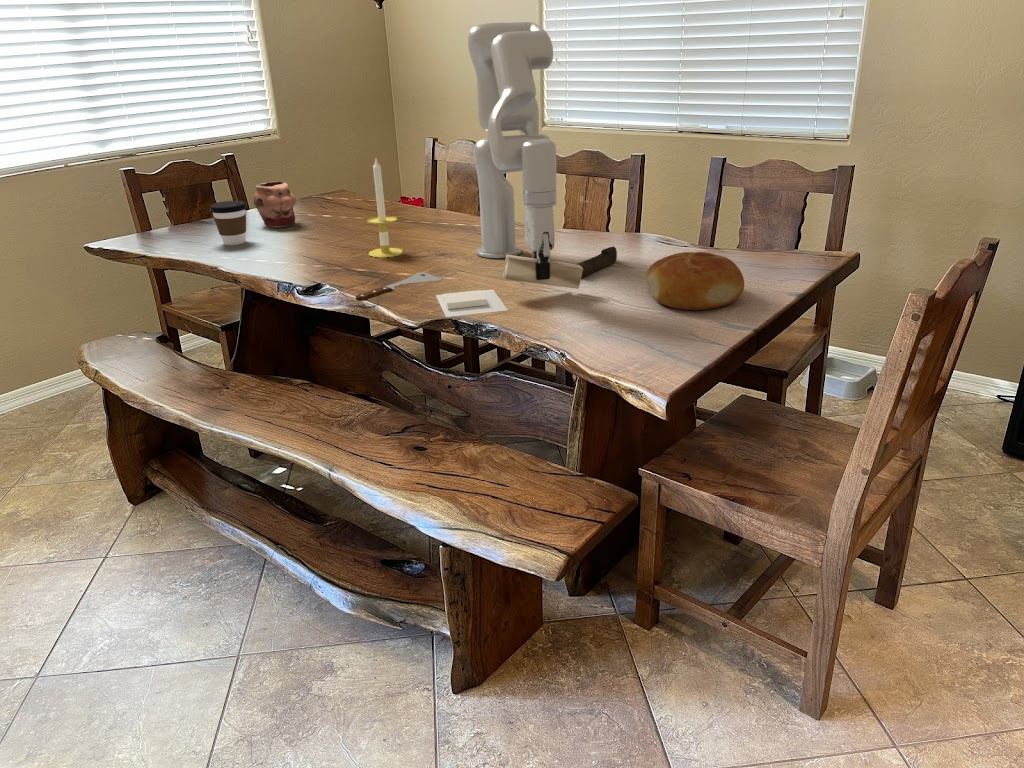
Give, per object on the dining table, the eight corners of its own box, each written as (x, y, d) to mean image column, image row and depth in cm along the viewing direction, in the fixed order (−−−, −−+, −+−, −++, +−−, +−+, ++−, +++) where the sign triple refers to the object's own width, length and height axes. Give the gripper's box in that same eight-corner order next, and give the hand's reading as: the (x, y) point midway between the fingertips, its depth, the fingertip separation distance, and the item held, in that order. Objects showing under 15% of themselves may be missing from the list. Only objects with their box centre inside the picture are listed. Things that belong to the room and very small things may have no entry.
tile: (480, 296, 184) (442, 300, 182) (480, 290, 183) (442, 294, 182) (486, 305, 178) (447, 310, 176) (486, 299, 177) (447, 303, 175)
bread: (621, 300, 181) (622, 258, 177) (679, 277, 196) (681, 237, 191) (706, 322, 166) (709, 277, 162) (762, 295, 181) (767, 253, 176)
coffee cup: (258, 238, 246) (252, 200, 241) (244, 247, 236) (237, 207, 231) (225, 238, 247) (218, 200, 242) (210, 247, 237) (202, 208, 232)
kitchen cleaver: (376, 303, 182) (348, 293, 188) (376, 308, 183) (349, 297, 189) (450, 279, 199) (423, 270, 205) (450, 283, 199) (423, 274, 205)
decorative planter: (244, 224, 264) (236, 183, 258) (274, 217, 273) (267, 177, 267) (280, 232, 253) (273, 188, 247) (310, 224, 261) (304, 182, 255)
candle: (361, 256, 223) (349, 159, 212) (381, 247, 231) (372, 153, 220) (389, 259, 219) (379, 160, 207) (409, 250, 227) (401, 155, 215)
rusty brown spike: (582, 281, 196) (583, 262, 194) (570, 278, 198) (570, 260, 196) (624, 263, 209) (625, 246, 207) (612, 261, 211) (613, 244, 209)
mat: (435, 297, 186) (435, 295, 186) (493, 291, 189) (493, 289, 189) (446, 319, 172) (446, 317, 172) (508, 312, 175) (508, 310, 175)
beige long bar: (502, 275, 181) (506, 254, 179) (574, 285, 186) (579, 264, 184) (505, 279, 179) (509, 257, 177) (578, 288, 184) (583, 268, 182)
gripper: (515, 192, 181) (517, 268, 189) (532, 206, 166) (533, 288, 174) (546, 189, 182) (547, 266, 190) (565, 203, 168) (566, 285, 175)
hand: (541, 276), depth 182 cm, fingers closed on beige long bar, 3 cm apart
